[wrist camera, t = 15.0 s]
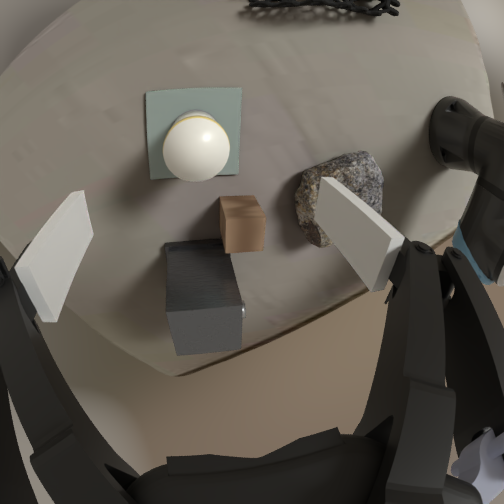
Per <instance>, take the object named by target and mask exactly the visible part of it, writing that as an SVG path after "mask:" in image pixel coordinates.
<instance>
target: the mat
mask: <svg viewBox="0 0 504 504" xmlns="http://www.w3.org/2000/svg"><path fill="white" fill-rule="evenodd" d="M241 101H242V88H186V89H170V90H159V91H149V92H146V117H147V140H148V156H149V169H150V180H152V179H163V178H175V177H177V176H175V175H174V174H173V173H172V172H171V171H170V170H169V169H168V167H167V165H166V163H165V161H164V157H163V143H164V140H165V138H166V135H167V134H168V132H169V130H170V129H171V127H172V125H173V123H174V121H175V120H176V118H177V117H178V116H179V115H181V114H182V113H184V112H186V111H189V110H194V109H198V110H203V111H206V112H208V113H210V114H211V115H212V116H213V117H214V118H215V119H216V121H217V123H219V124H220V126H221V127H222V128H223V129H224V131H225V132H226V134H227V136H228V139H229V143H230V152H229V157H228V160H227V162H226V164H225V166H224V167H223V169H222V170H221V171H220V172H219V173H218V174H217V175H230V174H238V168H239V144H240V121H241Z"/></svg>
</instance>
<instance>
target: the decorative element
mask: <svg viewBox="0 0 504 504" xmlns="http://www.w3.org/2000/svg"><path fill="white" fill-rule="evenodd" d="M271 1H279V3H272V2H271ZM334 1H335V2H334ZM342 1H343V2H341V1H339V0H306V1H302V2H297V1H296V0H265V1H258V0H249V2H252V3H249V6H251V7H295V6H305V5H309V6H312V5H327V6H332V7H335V8H340V9H346V10H349V11H353V12H358V13H363V14H367V15H373V16H381V13H386V12H387V13H389V14H390V15H392V16H398V15H399V12H398V11H397V10H395V9H394V8H392V7H390V4H391V5H392V6H395V7H399V6H400V3H399V1H397V0H379V1H381V3H379V4H378V5H376V6H375V7H373V8H372V9H369V10H368V9H367V8H366V7H363V6H359V7H358V6H356V5H355V4H353V1H357V0H349V1H347V0H342ZM380 8H382V9H383V10H379V9H380Z"/></svg>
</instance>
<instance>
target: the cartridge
mask: <svg viewBox="0 0 504 504" xmlns="http://www.w3.org/2000/svg"><path fill="white" fill-rule="evenodd" d="M229 152H230V143H229V139H228V136H227V134H226V132H225V131H224V129H223V128H222V127H221V126H220V124H219V123H217V121H216V119H215V118H214V117H213V116H212V115H211V114H210V113H208V112H206V111H203V110H198V109H194V110H189V111H186V112H184V113H182V114H181V115H179V116H178V117H177V118H176V120H175V121H174V123H173V125H172V127H171V129H170V130H169V132H168V134H167V135H166V138H165V140H164V143H163V157H164V161H165V163H166V165H167V167H168V169H169V170H170V171H171V172H172V173H173V174H174V175H175V176H177V177H178V178H180V179H182V180H185V181H189V182H201V181H205V180H208V179H210V178H212V177H214V176H215V175H217V174H218V173H219V172H220V171H221V170H222V169H223V167H224V166H225V164H226V162H227V160H228V157H229Z"/></svg>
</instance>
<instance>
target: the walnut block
mask: <svg viewBox="0 0 504 504" xmlns="http://www.w3.org/2000/svg"><path fill="white" fill-rule="evenodd" d="M265 225H266V216H265V214H264V212H263V211H262V209H261V207H260V205H259V204H258V202H257V200H256V198H255V196H254V195H251V196H223V197H220V211H219V227H220V232H221V236H222V240H223V245H224V249H225V253H239V252H253V251H263V245H264V235H265Z"/></svg>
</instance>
